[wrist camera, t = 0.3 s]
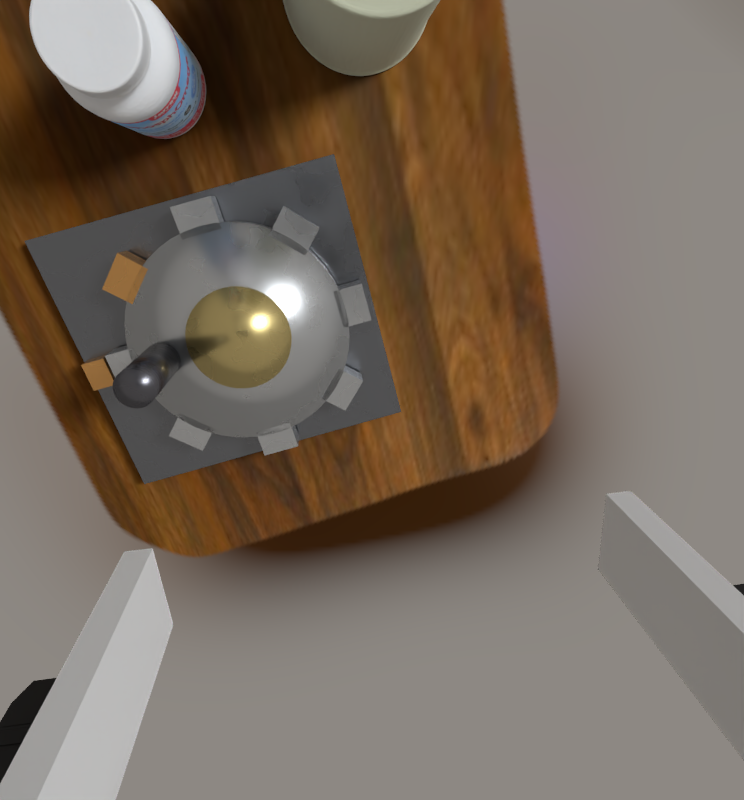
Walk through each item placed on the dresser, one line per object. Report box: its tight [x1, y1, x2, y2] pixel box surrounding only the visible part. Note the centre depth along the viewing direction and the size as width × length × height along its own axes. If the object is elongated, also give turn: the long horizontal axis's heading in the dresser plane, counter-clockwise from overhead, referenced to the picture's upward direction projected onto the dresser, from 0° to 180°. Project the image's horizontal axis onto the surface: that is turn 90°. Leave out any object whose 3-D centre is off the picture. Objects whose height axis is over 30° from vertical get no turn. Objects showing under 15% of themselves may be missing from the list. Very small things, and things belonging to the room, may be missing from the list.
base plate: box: [25, 154, 401, 484], centre depth 38 cm, size 19×21×2 cm
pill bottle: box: [29, 0, 206, 139], centre depth 28 cm, size 6×6×11 cm
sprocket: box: [102, 196, 371, 455], centre depth 34 cm, size 18×18×8 cm
